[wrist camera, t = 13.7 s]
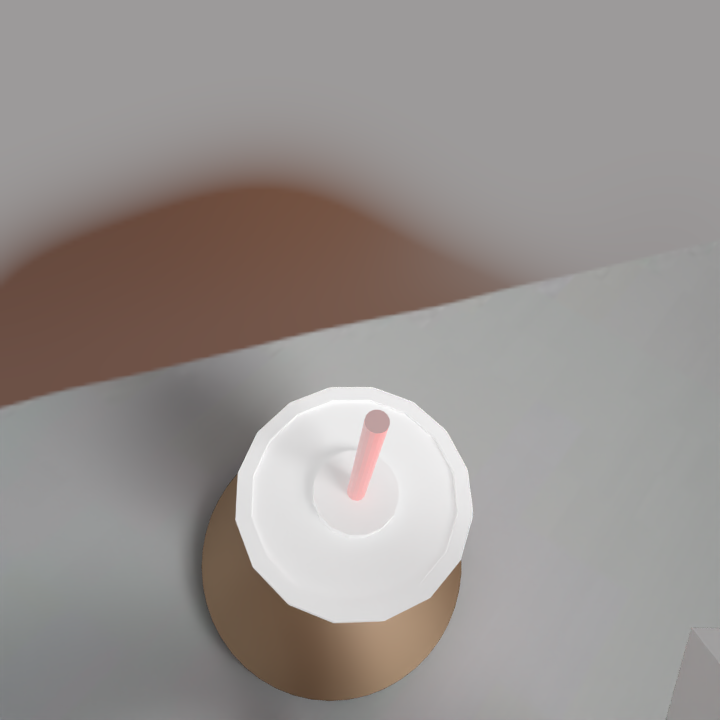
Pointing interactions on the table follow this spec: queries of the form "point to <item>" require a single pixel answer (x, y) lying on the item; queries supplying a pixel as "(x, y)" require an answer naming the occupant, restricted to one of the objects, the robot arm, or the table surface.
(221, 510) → the walnut pad
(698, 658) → the robot arm
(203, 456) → the table surface
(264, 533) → the beverage cup
